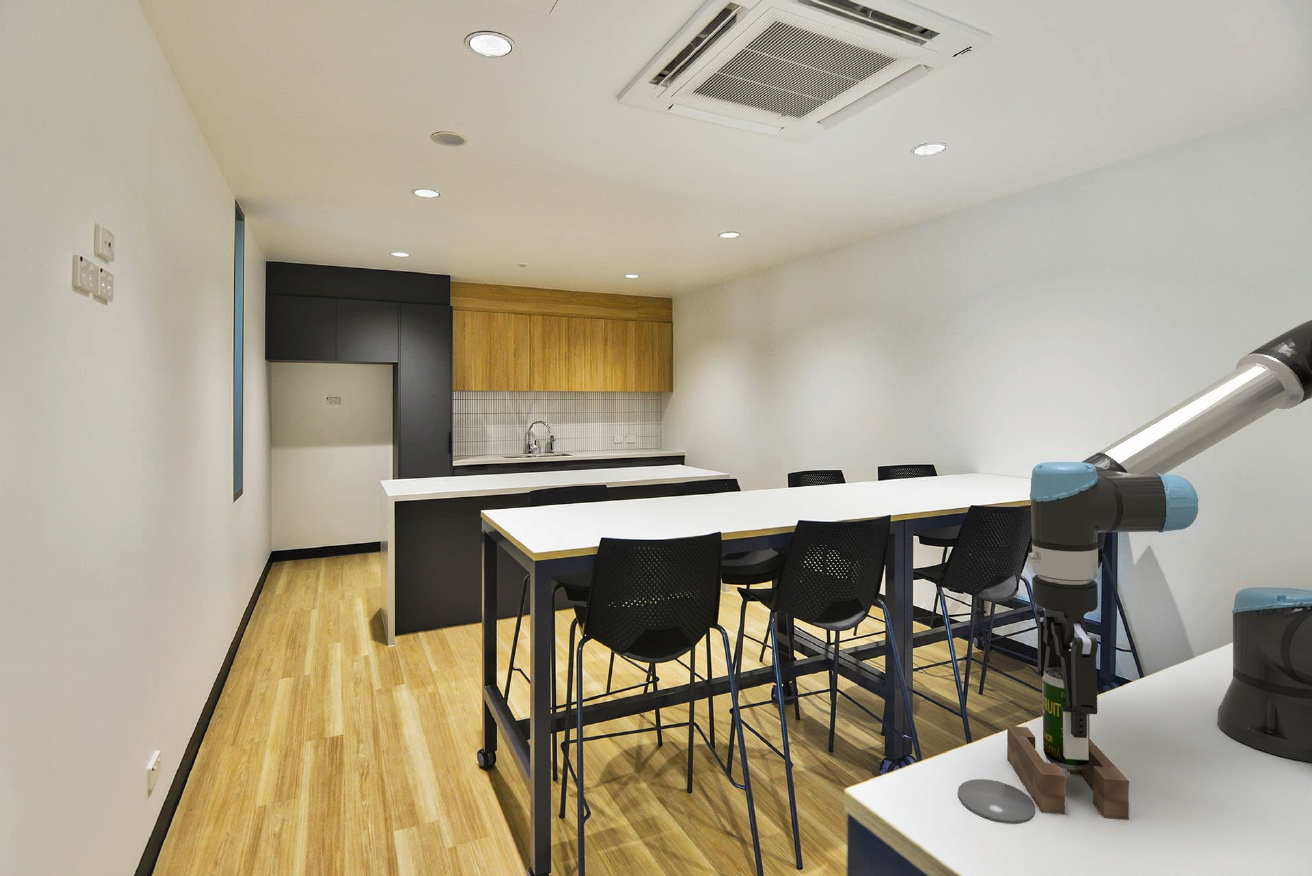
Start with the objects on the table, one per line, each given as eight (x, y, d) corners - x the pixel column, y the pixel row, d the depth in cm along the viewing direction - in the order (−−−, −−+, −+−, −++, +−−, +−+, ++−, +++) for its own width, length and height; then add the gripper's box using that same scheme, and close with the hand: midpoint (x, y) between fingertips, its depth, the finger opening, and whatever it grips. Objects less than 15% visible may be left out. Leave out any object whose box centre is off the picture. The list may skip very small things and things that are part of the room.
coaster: (1020, 785, 90) (1020, 782, 90) (1046, 826, 82) (1046, 822, 82) (950, 780, 92) (950, 776, 92) (968, 819, 83) (968, 815, 83)
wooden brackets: (1082, 764, 95) (1082, 730, 95) (1128, 819, 83) (1128, 780, 82) (1007, 759, 97) (1007, 725, 97) (1041, 812, 85) (1041, 774, 84)
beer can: (1070, 748, 93) (1069, 664, 92) (1099, 769, 87) (1099, 680, 87) (1034, 752, 92) (1033, 667, 92) (1061, 772, 87) (1060, 683, 86)
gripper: (1010, 561, 98) (1012, 713, 99) (1062, 596, 80) (1064, 782, 81) (1065, 561, 97) (1067, 716, 98) (1130, 597, 79) (1132, 786, 80)
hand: (1066, 745), depth 90 cm, fingers closed on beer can, 5 cm apart
